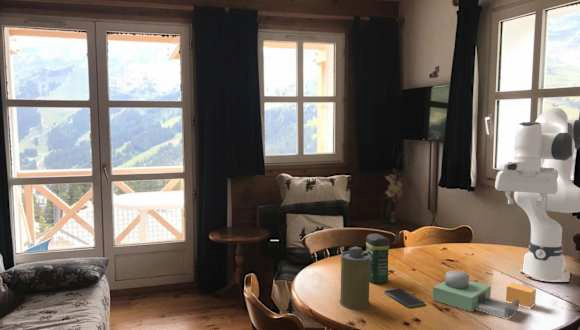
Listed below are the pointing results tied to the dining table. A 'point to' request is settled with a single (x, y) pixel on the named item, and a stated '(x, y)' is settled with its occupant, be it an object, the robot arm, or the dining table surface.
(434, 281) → the dining table surface
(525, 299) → the orange block
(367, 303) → the canister
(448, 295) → the green block with dome
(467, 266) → the dining table surface
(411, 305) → the phone
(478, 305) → the open gray drawer
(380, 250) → the coffee jar
